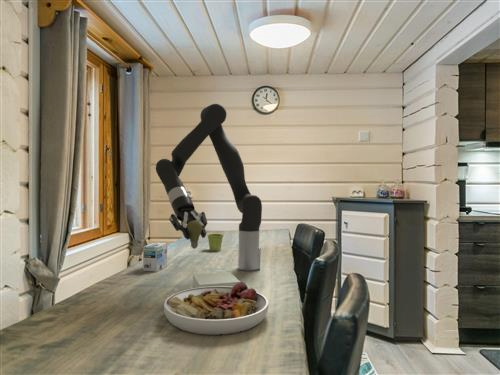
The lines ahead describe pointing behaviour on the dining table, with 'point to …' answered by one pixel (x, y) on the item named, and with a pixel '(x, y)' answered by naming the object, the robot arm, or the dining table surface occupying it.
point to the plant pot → (215, 241)
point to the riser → (214, 279)
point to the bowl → (216, 309)
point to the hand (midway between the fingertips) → (196, 237)
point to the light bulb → (194, 232)
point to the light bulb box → (154, 257)
